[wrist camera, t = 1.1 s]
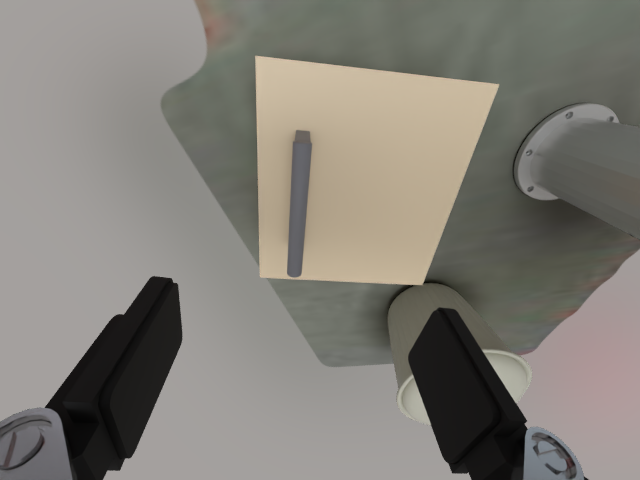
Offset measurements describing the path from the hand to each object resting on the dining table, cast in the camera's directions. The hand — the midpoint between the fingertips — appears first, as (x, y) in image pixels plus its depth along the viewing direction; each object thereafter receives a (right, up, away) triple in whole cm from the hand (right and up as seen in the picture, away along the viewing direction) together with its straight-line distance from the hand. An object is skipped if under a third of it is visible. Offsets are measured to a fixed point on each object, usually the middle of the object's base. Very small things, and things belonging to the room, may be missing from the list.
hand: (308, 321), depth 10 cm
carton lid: (+4, +8, +18) cm, 20 cm away
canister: (+19, -9, +42) cm, 47 cm away
